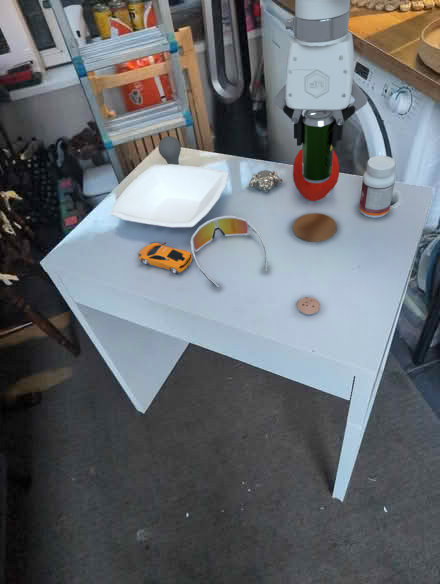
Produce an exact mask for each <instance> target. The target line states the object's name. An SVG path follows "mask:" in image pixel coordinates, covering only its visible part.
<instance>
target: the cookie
mask: <svg viewBox="0 0 440 584" xmlns="http://www.w3.org/2000/svg"><path fill="white" fill-rule="evenodd" d="M296 307H297V310H298V311H299V312H300V313H302V314H305V315H313V314H316V313H318V312H319V311H320V309H321V303H320V301H319V300H318V299H316V298H314V297H310V296H306V297H302V298H300V299H298V300H297V303H296Z"/></svg>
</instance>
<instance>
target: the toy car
mask: <svg viewBox="0 0 440 584" xmlns="http://www.w3.org/2000/svg"><path fill="white" fill-rule="evenodd" d="M166 244H167V242H162V244H161V243H159V242H150V243H149V244H147V245H145V246H143V247H142V248H141V249H140V250H139V251H138V253H137V257H138V259H139V260H140V262H142V263H143V264H144V265H146V266H152V267H153V266H154V267H156V268H161V269H165V270H168V271H171V272H172V273H173V274H175V275H177V274H180V273H182V272H184V271H185V270H187V269H188V268H189V267H190V266H191V264H192V262H193V259H194V257H193V255H192V252H190V251H188V250H184V249H180V248H175V247H170V246H167V245H166Z"/></svg>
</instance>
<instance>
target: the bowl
mask: <svg viewBox="0 0 440 584" xmlns="http://www.w3.org/2000/svg"><path fill="white" fill-rule="evenodd" d="M228 177H229V172H228V171H224V170H220V169H218V168H213V167H205V166H195V165H186V164H185V165H184V164H179V165H175V164H167V163H166V164H152V165H150V166H149V167H148V168H146V169H145V170H144V171H142V172H141V173H140V174H139V175H137V177H136V178H134V180H132V181H131V183H129V184H128V185H127V186H126V187H125V188H124V189H123V191H122V193H121V194H120V195H119V197H118V198H117V199H116V200H115V202H114V205H113V207H112V208H111V211H110V212H109V214H110V215H111V216H112V217H115V218H118V219H120V220H122V221H126V222H132V223H139V224H144V225H150V226H159V227H165V228H193V227H195V226H196V225H197V224H198V223H199V222H201V220H202V219H204V218H205V217H206V216H207V215H208V213H210V211H211V209H212V208H213V207H214V206H215V205H216V203H217V202H218V201H219V200H220V198H221V196H222V193H223V192H224V190H225V188H226V185H227V182H228Z"/></svg>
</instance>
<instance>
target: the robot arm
mask: <svg viewBox="0 0 440 584" xmlns="http://www.w3.org/2000/svg"><path fill="white" fill-rule="evenodd" d="M294 3H295V9H294V10H295V12H294V13H295V14H294V16H293V17H291V18H286V19H285V30H290V31H292V33H293V36H292V37H291V38H290V39H289V43H288V50H287V58H286V73H285V84H284V85H283V86H282V88H281V89H280V90H279V92H278V93H277V94H276V95H275V96H274V99H273V103H274V104H275V105H276V106H277V107H278V108H279V109H280V110H282V112H283V113H284V114H285V115H286V116H287V117H288V118H289V119H290V121H291V123H292V124H293V139H294V140H295V139H296V146H297V147H300V146H302V119H303V117H304V114H303V112H304V111H306V110H333V112H334V116H335V122H334V125H333V134H332V147H333V148H337V146H338V144H339V141H342V140H343V135H344V123H345V122H346V121H348V120H349V119H350V118H351V117H352V116H354V114H355V113H356V112H358V111H359V110H360V109H362V108H364V106H366V105H367V103H368V96H367V95H366V94H365V93H364V91H363V89H361V88H360V86H359V85H358V84H357V82H356V81H355V80H354V75H355V74H354V72H355V51H354V49H355V48H354V39H353V34H352V33H351V32H350V31H349V22H350V7H351V0H295V1H294ZM351 98H353V99H354V101H353V102H351Z"/></svg>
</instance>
